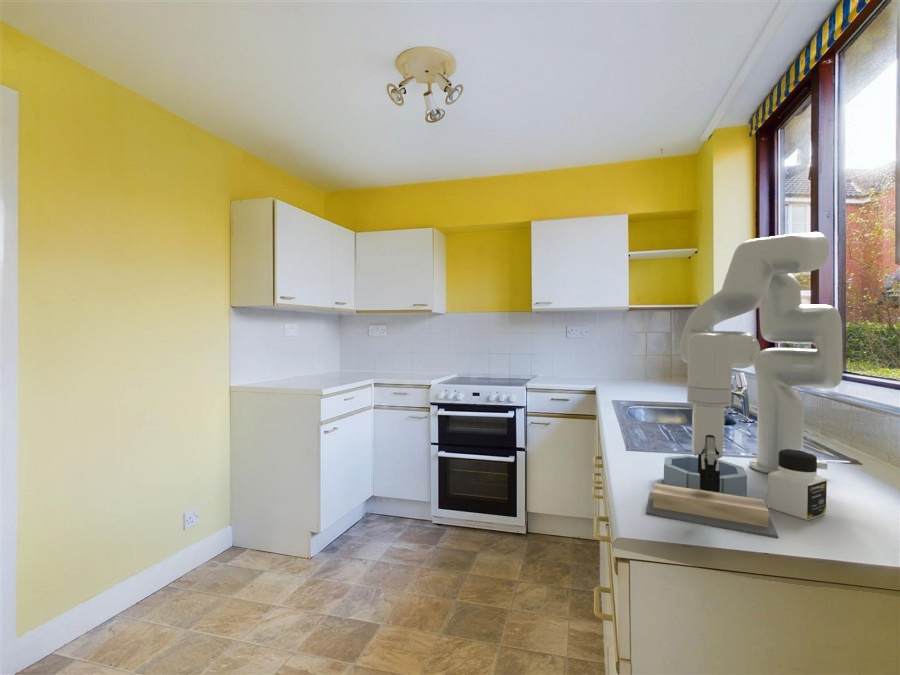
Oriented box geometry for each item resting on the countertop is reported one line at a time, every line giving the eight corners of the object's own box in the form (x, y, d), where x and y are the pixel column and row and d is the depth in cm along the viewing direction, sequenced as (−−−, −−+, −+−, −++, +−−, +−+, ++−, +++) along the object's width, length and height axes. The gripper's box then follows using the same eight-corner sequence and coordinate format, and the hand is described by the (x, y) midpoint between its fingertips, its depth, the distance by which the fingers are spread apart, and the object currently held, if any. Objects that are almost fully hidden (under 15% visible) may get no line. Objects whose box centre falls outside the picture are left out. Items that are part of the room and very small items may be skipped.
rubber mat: (766, 512, 87) (766, 510, 87) (778, 537, 77) (778, 535, 77) (650, 493, 97) (650, 491, 97) (646, 513, 86) (646, 511, 86)
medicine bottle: (808, 521, 84) (809, 458, 83) (766, 507, 90) (767, 449, 90) (826, 514, 87) (828, 453, 87) (785, 501, 93) (786, 445, 93)
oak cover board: (654, 497, 94) (654, 483, 94) (762, 515, 85) (763, 499, 85) (653, 507, 89) (653, 492, 89) (768, 527, 80) (768, 510, 80)
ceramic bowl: (740, 482, 105) (740, 461, 104) (749, 506, 90) (750, 482, 90) (665, 472, 112) (665, 452, 112) (662, 492, 98) (663, 470, 98)
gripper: (686, 388, 96) (686, 466, 97) (687, 401, 81) (687, 494, 81) (727, 390, 93) (726, 471, 93) (736, 404, 77) (735, 501, 78)
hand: (708, 482), depth 87 cm, fingers open, 9 cm apart
